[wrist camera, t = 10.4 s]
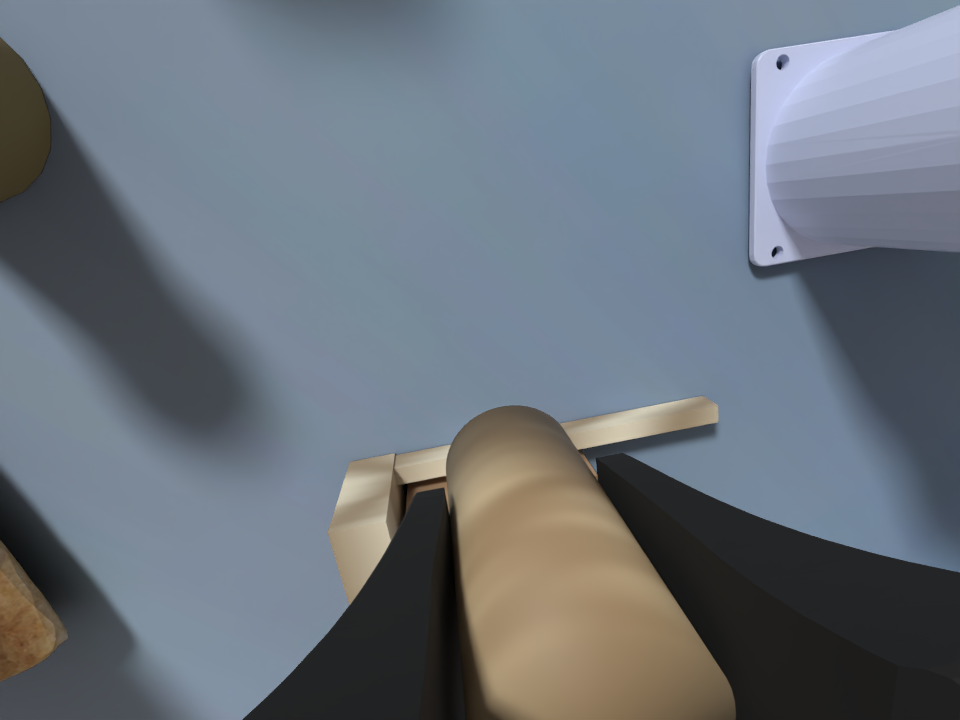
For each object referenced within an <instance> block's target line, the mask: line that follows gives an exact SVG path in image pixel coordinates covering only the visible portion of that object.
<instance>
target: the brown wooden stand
mask: <svg viewBox="0 0 960 720" xmlns="http://www.w3.org/2000/svg"><path fill="white" fill-rule="evenodd" d="M67 639H68V632H67V630H66V628H65V626H64V625H63V623H62V621H61V620H60V618H59V617H58V615H57V614H56V612H55V611H54V609H53V608H52V607H51V605H50V604H49V602H48V601H47V600H46V598H45V597H44V596H43V594H42V593H41V592H40V590H39V589H38V588H37V587H36V586H35V585H34V584H33V582H32V581H31V579H30V578H29V577H28V575H27V574H26V572H25V571H24V570H23V568H22V567H21V566H20V564H19V563H18V562H17V560H16V559H15V558H14V557H13V555H12V554H11V553H10V551H9V550H8V549H7V548H6V546H5V545H4V544H3V543H2V542H1V540H0V682H1V681H3V680H5V679H8V678H10V677H12V676H14V675H17V674H19V673H21V672H23V671H26V670H28V669H30V668H32V667H34V666H36V665H37V664H39V663H40V662H42V661H44V660H45V659H47V658H48V657H49V656H50V655H51V654H52V653H53V652H54V651H55V649H56V648H57V647H58V646H59V645H60V644H61V643H63V642H64V641H66V640H67Z"/></svg>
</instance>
